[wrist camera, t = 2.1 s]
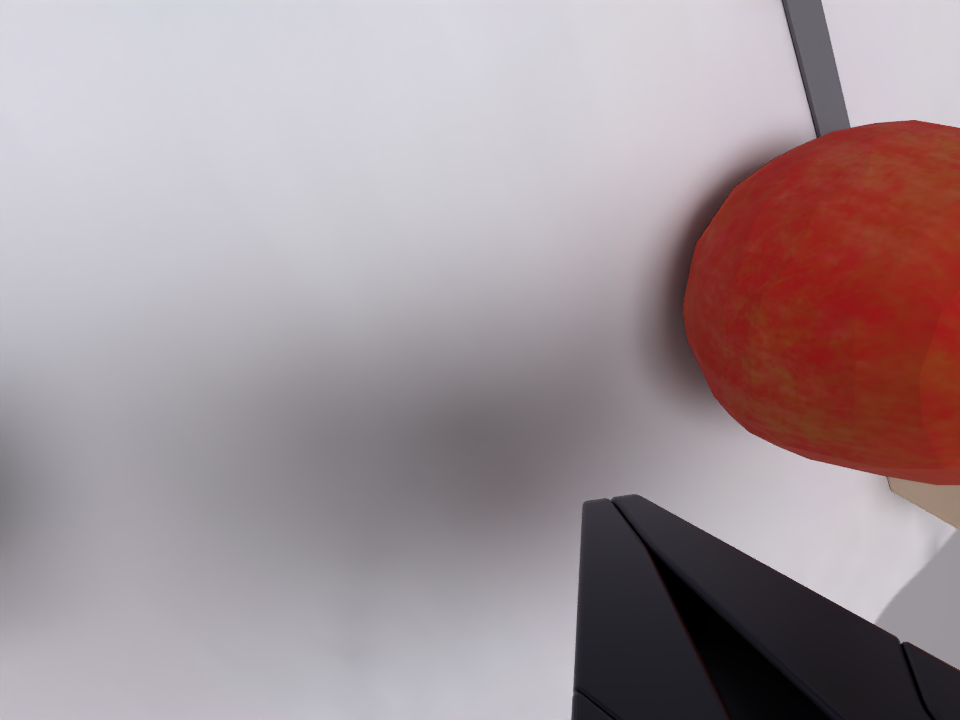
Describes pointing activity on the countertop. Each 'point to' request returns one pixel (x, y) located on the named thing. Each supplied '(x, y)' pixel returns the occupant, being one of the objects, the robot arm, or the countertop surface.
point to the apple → (840, 301)
